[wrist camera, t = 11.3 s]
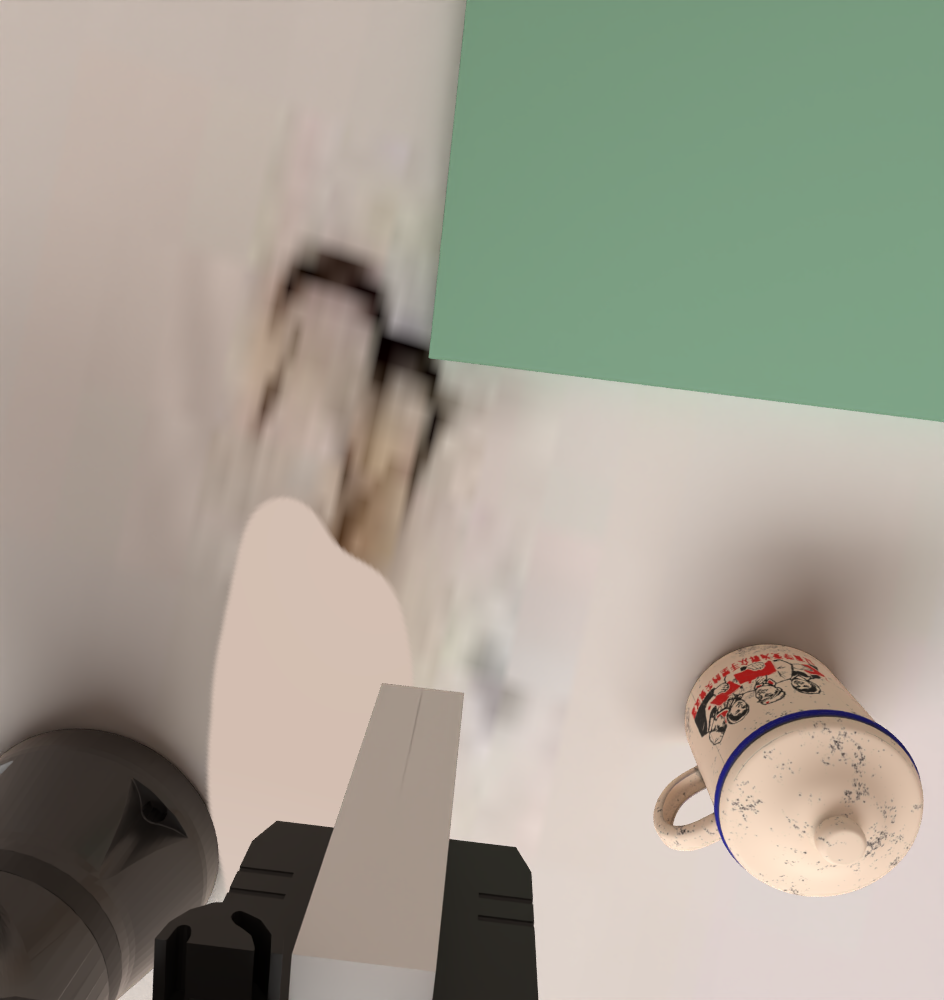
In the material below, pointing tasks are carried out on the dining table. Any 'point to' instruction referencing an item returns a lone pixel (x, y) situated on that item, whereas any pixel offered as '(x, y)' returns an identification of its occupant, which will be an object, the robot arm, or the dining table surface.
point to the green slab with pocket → (702, 198)
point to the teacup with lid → (793, 776)
